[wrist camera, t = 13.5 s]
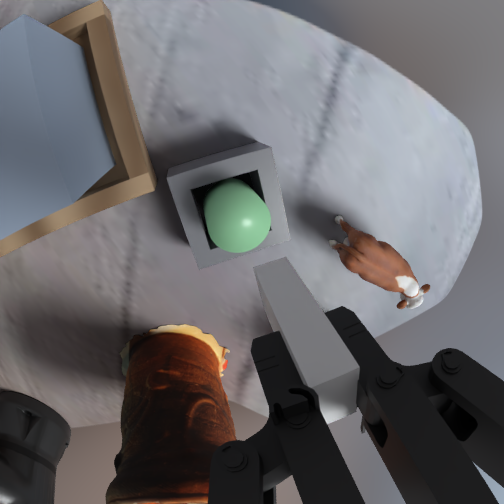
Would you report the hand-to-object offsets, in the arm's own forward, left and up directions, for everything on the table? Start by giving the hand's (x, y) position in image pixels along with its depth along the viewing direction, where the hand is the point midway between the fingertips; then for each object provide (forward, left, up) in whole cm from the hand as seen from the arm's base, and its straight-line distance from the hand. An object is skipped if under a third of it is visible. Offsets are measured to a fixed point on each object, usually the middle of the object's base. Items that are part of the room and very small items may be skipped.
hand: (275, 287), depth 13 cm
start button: (0, 0, -12) cm, 12 cm away
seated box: (-12, +11, -15) cm, 22 cm away
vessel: (-12, -18, -15) cm, 26 cm away
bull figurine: (+13, -10, -15) cm, 22 cm away
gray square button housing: (0, 0, -15) cm, 15 cm away
